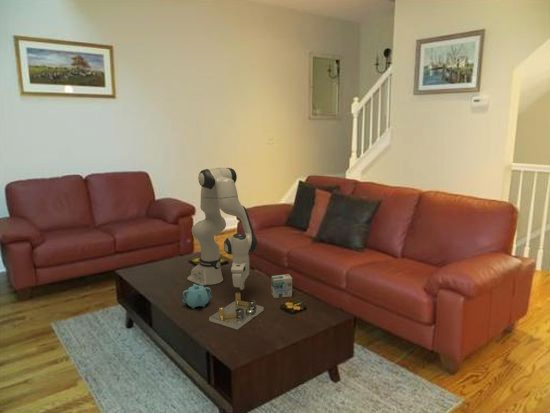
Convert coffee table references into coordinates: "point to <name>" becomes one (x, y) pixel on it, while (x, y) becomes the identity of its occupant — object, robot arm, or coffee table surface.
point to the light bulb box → (281, 286)
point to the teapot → (197, 296)
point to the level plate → (236, 321)
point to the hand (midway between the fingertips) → (242, 288)
